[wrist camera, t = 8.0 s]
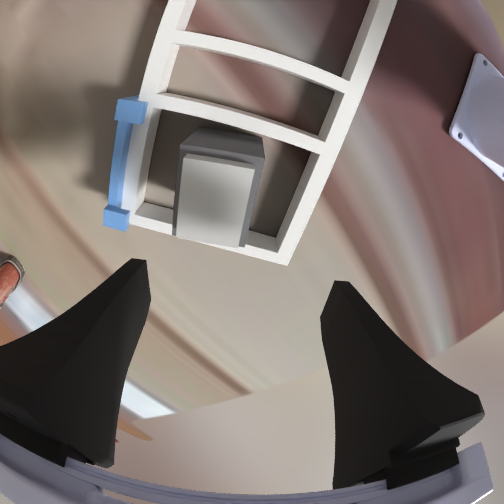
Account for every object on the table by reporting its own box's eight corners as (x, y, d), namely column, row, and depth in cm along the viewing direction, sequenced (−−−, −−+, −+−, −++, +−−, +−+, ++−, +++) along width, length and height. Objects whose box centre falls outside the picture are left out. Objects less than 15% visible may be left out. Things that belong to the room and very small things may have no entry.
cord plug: (261, 137, 17) (265, 163, 12) (246, 206, 20) (244, 256, 15) (199, 127, 17) (176, 148, 12) (190, 197, 19) (168, 243, 14)
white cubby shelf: (388, -6, 11) (413, -17, 8) (284, 250, 22) (289, 280, 19) (200, -63, 9) (190, -86, 6) (123, 206, 20) (103, 230, 17)
